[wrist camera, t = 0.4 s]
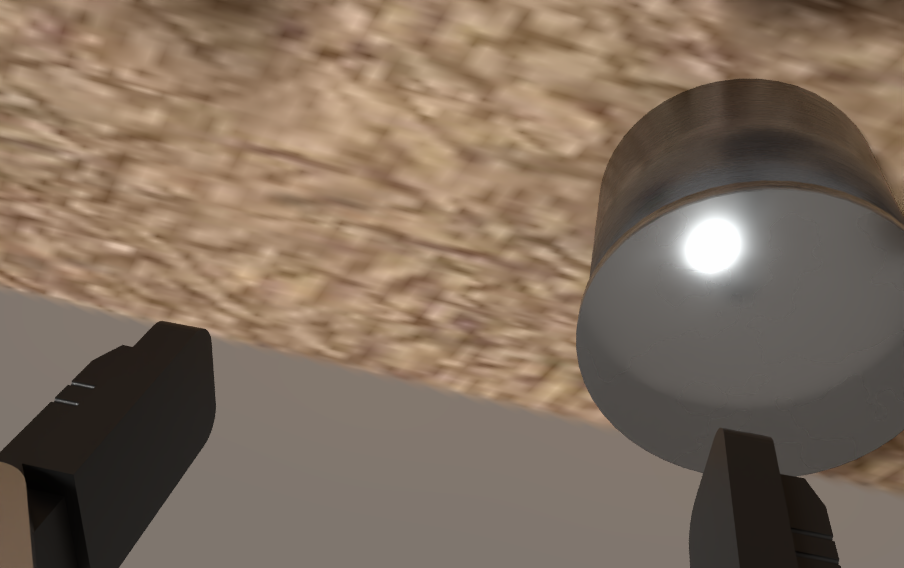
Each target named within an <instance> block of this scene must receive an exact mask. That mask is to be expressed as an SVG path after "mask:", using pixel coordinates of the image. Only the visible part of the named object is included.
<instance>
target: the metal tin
mask: <svg viewBox="0 0 904 568" xmlns="http://www.w3.org/2000/svg"><path fill="white" fill-rule="evenodd" d="M576 350H577V356H578V363H579V368H580V371H581V374H582V377H583V380H584V383H585V385H586V387H587V389H588V391H589V393H590V395H591V397H592V399H593V401H594V402H595V403H596V405H597V406H598V408H599V409H600V411H601V412H602V414H603V415H604V416H605V417H606V418H607V419H608V420H609V421H610V422H611V423H612V425H613V426H614V427H615V428H616V429H618V430H619V431H620V432H621V433H622V434H623V435H625V436H626V437H627V438H628V439H629V440H631V441H633V442H634V443H635V444H637V445H638V446H640V447H641V448H643V449H644V450H646V451H648V452H650V453H651V454H653V455H655V456H658V457H659V458H661V459H663V460H665V461H668V462H670V463H673V464H676V465H678V466H681V467H683V468H687V469H690V470H694V471H697V472H701V473H704V469H705V466H706V463H707V460H708V456H709V453H710V450H711V446H712V443H713V440H714V437H715V434H716V432H717V430H718V429H719V428H720V427H721V428H726V429H732V430H737V431H742V432H748V433H753V434H758V435H764V436H769V437H771V438H772V439H773V441H774V445H775V451H776V456H777V461H778V466H779V471H780V474H784V475H789V476H794V477H796V476H801V475H807V474H812V473H816V472H820V471H824V470H827V469H831V468H834V467H837V466H840V465H843V464H845V463H848V462H850V461H853V460H855V459H858V458H860V457H862V456H864V455H866V454H868V453H870V452H871V451H873V450H875V449H877V448H879V447H880V446H882V445H883V444H885V443H886V442H888V441H889V440H891V439H893V438H894V437H896V436H897V435H898V434H899V433H900V432H902V431H903V430H904V217H903V215H902V213H901V211H900V209H899V207H898V205H897V203H896V201H895V199H894V197H893V195H892V193H891V190H890V188H889V186H888V184H887V182H886V180H885V178H884V176H883V174H882V172H881V170H880V168H879V166H878V164H877V162H876V160H875V158H874V156H873V154H872V152H871V150H870V148H869V146H868V144H867V142H866V140H865V138H864V137H863V135H862V134H861V132H860V131H859V129H858V128H857V126H856V125H855V124H854V123H853V122H852V121H851V120H850V119H849V118H848V117H847V116H846V115H845V114H844V113H843V112H842V111H841V110H839V109H838V108H837V107H836V106H834V105H833V104H832V103H831V102H829V101H827V100H825V99H824V98H822V97H820V96H818V95H817V94H815V93H813V92H810V91H808V90H805V89H803V88H800V87H798V86H794V85H791V84H787V83H783V82H779V81H772V80H764V79H734V80H725V81H718V82H714V83H710V84H706V85H701V86H698V87H696V88H693V89H690V90H687V91H685V92H682V93H680V94H678V95H676V96H674V97H672V98H670V99H668V100H666V101H664V102H663V103H661V104H660V105H658V106H657V107H655V108H654V109H652V110H651V111H650V112H648V113H647V114H646V115H645V116H644V117H643V118H641V119H640V120H639V121H638V122H637V123H636V124H635V125H634V126H633V127H632V128H631V129H630V130H629V131H628V133H627V134H626V135H625V136H624V137H623V139H622V140H621V142H620V143H619V145H618V146H617V148H616V149H615V150H614V152H613V154H612V156H611V158H610V160H609V162H608V164H607V167H606V170H605V173H604V176H603V179H602V184H601V189H600V195H599V203H598V212H597V220H596V228H595V237H594V245H593V253H592V262H591V270H590V279H589V281H588V283H587V286H586V289H585V292H584V294H583V297H582V300H581V305H580V311H579V316H578V323H577V332H576Z"/></svg>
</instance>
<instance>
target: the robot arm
mask: <svg viewBox="0 0 904 568" xmlns="http://www.w3.org/2000/svg"><path fill="white" fill-rule="evenodd" d="M215 411H216V401H215V386H214V371H213V358H212V342H211V337H210V334H209V332H208V331H207V330H206V329H203V328H197V327H192V326H187V325H181V324H176V323H171V322H165V321H159V322H157V323H156V324H155V325H154V326H153V327H152V328H151V329H150V330H149V331H148V332H147V333H146V334H145V335H144V336H143V337H142V338H141V339H140V340H139V341H138V342H137V343H136V345H134V346H133V347H129V346H125V345H122V346H120V347H118V348H116V349H114V350H112V351H110V352H108V353H106V354H104V355H102V356H100V357H98V358H96V359H95V360H93V361H91V362H90V364H89V365H87V366H86V367H85V368H84V369H83V371H81V373H79V374H78V375H77V376H76V378H74V379H73V380H72V384H71V386H70V385H68V386H66V387H65V388H64V389H63V390H62V392H60V393H59V394H58V395H57V396H56V397H55V401H54V402H50V403H49V404H48V405H47V406H46V407H45V408H44V409H43V410H42V411H41V412H40V413H39V414H38V415H37V416H36V417H35V418H34V419H33V420H32V421H31V422H30V423H29V424H28V425H27V426H26V427H25V428H24V429H23V430H22V431H21V432H20V433H19V434H18V435H17V436H16V437H15V438H14V439H13V440H12V441H11V442H10V443H9V444H8V445H7V446H6V447H5V448H4V449H3V450H2V451H1V452H0V568H119V567H120V565H121V564H122V562H123V561H124V560H125V558H126V557H127V555H128V554H129V552H130V551H131V550H132V548H133V546H134V545H135V544H136V542H137V541H138V539H139V538H140V537H141V535H142V534H143V532H144V531H145V529H146V528H147V527H148V525H149V524H150V522H151V521H152V519H153V518H154V517H155V515H156V514H157V512H158V511H159V509H160V508H161V507H162V505H163V504H164V502H165V501H166V499H167V498H168V497H169V495H170V493H171V492H172V491H173V489H174V488H175V487H176V485H177V484H178V482H179V481H180V479H181V478H182V476H183V475H184V474H185V472H186V471H187V469H188V467H189V466H190V465H191V464H192V462H193V461H194V459H195V458H196V456H197V455H198V453H199V452H200V451H201V449H202V448H203V446H204V445H205V443H206V442H207V440H208V438H209V435H210V433H211V430H212V427H213V423H214V419H215ZM832 538H833V533H832V529H831V525H830V521H829V517H828V514H827V509H826V507H825V505H824V504H823V502H822V501H821V500H820V498H819V497H818V496H817V495H816V493H815V492H814V490H813V489H812V488H811V487H810V485H809V484H808V482H807V481H806V480H805V479H804V478H799V477H794V476H789V475H784V474H780V471H779V466H778V461H777V456H776V451H775V445H774V441H773V439H772V438H771V437H769V436H764V435H758V434H753V433H748V432H742V431H737V430H732V429H726V428H721V427H720V428H719V429H718V430H717V432H716V434H715V437H714V440H713V443H712V446H711V450H710V453H709V456H708V460H707V463H706V466H705V469H704V473H703V476H702V479H701V483H700V486H699V489H698V492H697V496H696V499H695V503H694V507H693V511H692V516H691V523H690V533H689V554H690V568H841V566H840V565H838V562H839V557H838V553H837V549H836V545H835V542H834V541H832Z"/></svg>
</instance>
